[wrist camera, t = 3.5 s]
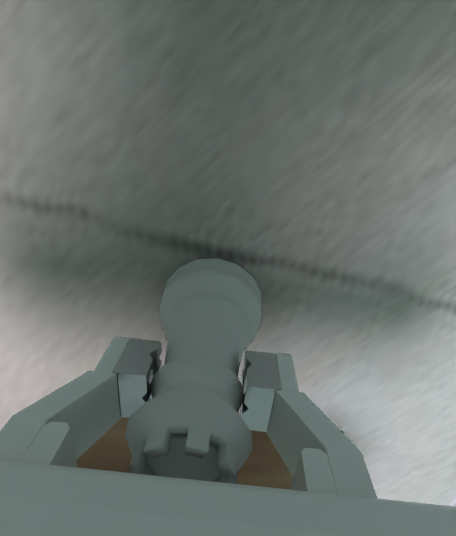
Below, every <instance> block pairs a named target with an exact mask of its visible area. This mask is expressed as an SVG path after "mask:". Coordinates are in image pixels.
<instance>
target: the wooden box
mask: <svg viewBox="0 0 456 536" xmlns="http://www.w3.org/2000/svg"><path fill="white" fill-rule="evenodd" d="M128 420H129V418H126V417H120V420H119V421H118V422H117V423H115V424H114V425H113V426H112V427H111V428H110V429H109V430H108V431H107V432H106V433H105V434H104V435H103V436H102V437H100V438H99V439H98V440H97V441H96V442H95V443H94V444H93V445H92V446H91V447H90V448H89V449H88V450H87V451H85V452H84V453H83V454H82V455H81V456H80V457H79V458H78V459H77V460H76V462H77V467H78V468H87V469H97V470H107V471H116V472H126V473H127V471H128V468H129V465H130V462H131V459H132V454H131V451H130V448H129V445H128V442H127V439H126V436H125V430H126V426H127V423H128ZM250 431H251V432H252V448H253V450H252V451H251V453H250V455H249V456H248V458H247V460H246V462H245V463H244V465H243V466H242V467H241V468H240V469H239V470H238V472H237V484H241V485H251V486H261V487H270V488H280V489H290V487H291V484H292V480H293V476H292V474H291V472H290V471H289V469H288V467H287V466H286V464H285V463H284V461H283V459H282V458H281V456H280V454H279V453H278V451H277V449H276V448H275V446H274V444H273V443H272V441H271V440H270V438H269V436H268V435H267V432H262V431H254V430H250ZM341 432H342V431H341ZM342 433H343V432H342ZM343 434H344V433H343Z"/></svg>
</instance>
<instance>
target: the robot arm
mask: <svg viewBox="0 0 456 536" xmlns="http://www.w3.org/2000/svg"><path fill="white" fill-rule="evenodd" d="M161 352H162V347H161V342H158V341H150V340H142V339H135V338H124V337H115V338H114V339H113V340H112V342H111V344H110V345H109V347H108V349H107V350H106V352H105V354H104V355H103V357H102V359H101V360H100V362H99V364H98V365H97V367H96V369H95V370H94V371H88V372H86V373H85V374H83V375H81V376H80V377H78V378H76V379H74V380H73V381H71V382H69V383H68V384H66V385H64V386H63V387H61V388H59V389H57V390H56V391H54V392H52V393H51V394H49V395H47V396H45V397H44V398H42V399H40V400H39V401H37V402H35V403H34V404H32V405H30V406H28V407H27V408H25V409H23V410H22V411H20V412H18V413H16V414H15V415H13V416H12V417H11V418H10V420H9V421H8V422H7V423H6V425H5V426H4V427H3V429H2V430H1V431H0V536H456V507H453V506H444V505H434V504H425V503H415V502H405V501H396V500H386V499H377V496H376V493H375V490H374V487H373V484H372V482H371V479H370V476H369V473H368V470H367V467H366V464H365V462H364V459H363V456H362V453H361V452H360V451H359V450H358V448H357V447H356V446H355V445H354V444H353V443H352V442H351V441H350V440H349V439H348V438H347V437H346V436H345V435H344V434H343V433H342V432H341V431H340V430H339V429H338V428H337V427H336V426H335V425H334V424H333V423H332V422H331V420H330V419H329V418H328V417H327V416H326V415H325V414H324V413H323V412H322V411H321V410H320V409H319V408H318V407H317V406H316V405H315V404H314V403H313V402H312V401H311V400H310V399H309V398H308V397H307V396H306V395H305V394H304V393H302V392H299V389H298V384H297V379H296V374H295V370H294V365H293V360H292V356H291V355H290V354H281V353H266V352H256V351H246V352H245V358H244V369H243V372H242V380H241V384H242V386H243V395H244V401H243V403H242V405H241V409H240V416H241V417H242V419H243V420H244V422H245V423H246V425H247V426H248V428H249V429H250V430H254V431H262V432H267V435H268V436H269V438H270V440H271V441H272V443H273V444H274V446H275V448H276V449H277V451H278V453H279V454H280V456H281V458H282V459H283V461H284V463H285V464H286V466H287V467H288V469H289V471H290V472H291V474H292V476H293V480H292V484H291V487H290V489H280V488H270V487H261V486H251V485H241V484H231V483H221V482H212V481H202V480H193V479H183V478H174V477H164V476H154V475H145V474H135V473H126V472H116V471H107V470H97V469H87V468H78V467H77V462H76V460H77V459H78V458H79V457H80V456H81V455H82V454H83V453H84V452H85V451H87V450H88V449H89V448H90V447H91V446H92V445H93V444H94V443H95V442H96V441H97V440H98V439H99V438H100V437H102V436H103V435H104V434H105V433H106V432H107V431H108V430H109V429H110V428H111V427H112V426H113V425H114V424H115V423H117V422H118V421H119V420H120V417H126V418H129V417H130V416H131V415H132V414H133V413H134V412H135V411H136V410H137V409H138V408H139V407H141V406H142V405H143V404H144V403H146V402H147V401H149V400H151V399H152V395H151V391H150V385H151V382H152V379H153V376H154V374H155V373H156V372H157V371H158V370H159V369H161V368H162V361H161V360H160V359H159V358H160V355H161Z"/></svg>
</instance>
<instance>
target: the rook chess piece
mask: <svg viewBox="0 0 456 536" xmlns="http://www.w3.org/2000/svg"><path fill="white" fill-rule="evenodd" d="M261 312H262V293H261V291H260V289H259V287H258V285H257V283H256V282H255V280H254V278H253V277H252V276H251V275H250V274H249V273H248V272H246V271H245V270H244V269H243V268H241V267H240V266H239V265H237V264H234V263H231V262H228V261H225V260H222V259H219V258H212V259H196V260H194V261H192V262H190V263H187V264H185V265H183V266H181V267H179V268H178V269H177V270H176V271H175V272H174V274H173V275H172V276H171V277H170V278H169V279H168V280H167V283H166V287H165V290H164V293H163V297H162V300H161V304H160V307H159V313H160V319H161V324H162V329H163V331H164V332H165V336H166V340H167V341H168V342H167V350H166V357H165V364H164V366H163V367H162V368H161V369H159V370H158V371H157V372H156V373H155V374H154V376H153V379H152V382H151V385H150V391H151V395H152V399H151V400H149V401H147V402H146V403H144V404H143V405H142V406H141V407H139V408H138V409H137V410H136V411H135V412H134V413H133V414H132V415H131V416H130V417H129V420H128V423H127V426H126V430H125V436H126V439H127V442H128V445H129V448H130V451H131V454H132V459H131V462H130V465H129V468H128V471H127V473H135V474H145V475H154V476H164V477H174V478H183V479H193V480H202V481H212V482H221V483H231V484H237V472H238V470H239V469H240V468H241V467H242V466H243V465H244V463H245V462H246V460H247V458H248V456H249V455H250V453H251V451H252V450H253V448H252V432H251V431H250V429H249V428H248V426H247V425H246V423H245V422H244V420H243V419H242V417H241V416H240V415H239V414H238V413H237V412H238V411H239V409H240V407H241V405H242V403H243V401H244V395H243V386H242V384H241V383H240V381H239V380H238V370H239V365H240V360H241V356H242V353H243V352H244V351H245V350H246V348H247V346H248V345H249V344H250V343H251V342H252V341H253V339H254V337H255V335H256V333H257V331H258V329H259V327H260V324H261Z"/></svg>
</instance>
